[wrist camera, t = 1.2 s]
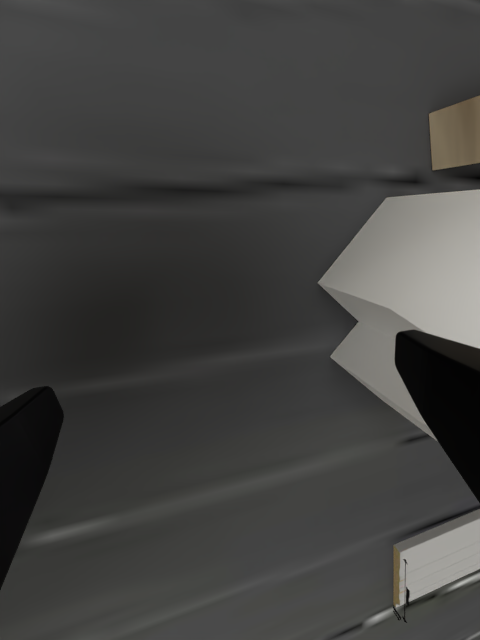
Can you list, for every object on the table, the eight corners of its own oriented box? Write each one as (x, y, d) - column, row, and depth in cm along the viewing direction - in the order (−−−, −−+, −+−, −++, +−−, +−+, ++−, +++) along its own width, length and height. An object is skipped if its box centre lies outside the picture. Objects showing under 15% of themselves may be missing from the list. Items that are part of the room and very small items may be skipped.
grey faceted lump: (381, 399, 28) (540, 517, 17) (286, 321, 24) (416, 409, 13) (467, 296, 28) (687, 348, 17) (386, 197, 23) (611, 178, 12)
